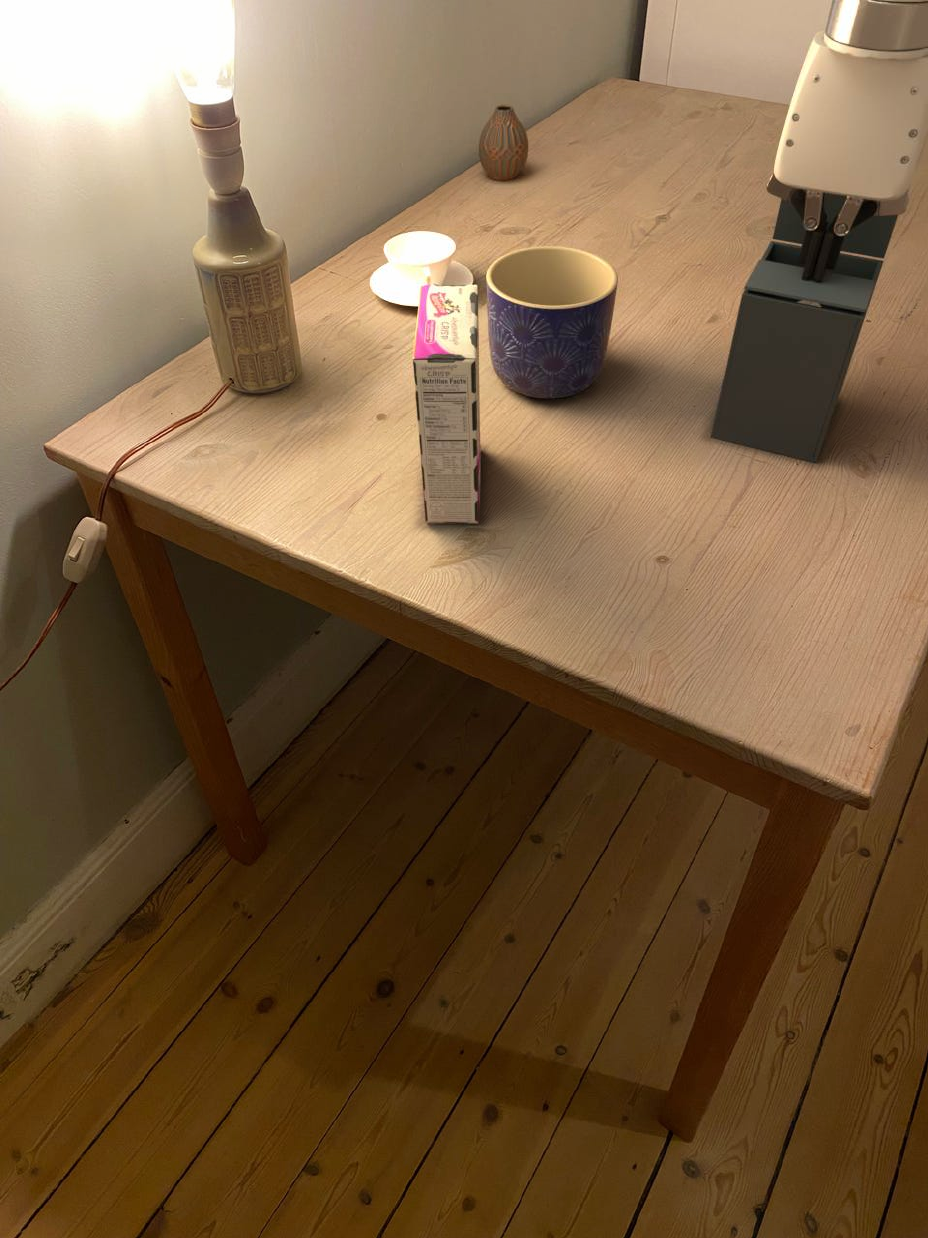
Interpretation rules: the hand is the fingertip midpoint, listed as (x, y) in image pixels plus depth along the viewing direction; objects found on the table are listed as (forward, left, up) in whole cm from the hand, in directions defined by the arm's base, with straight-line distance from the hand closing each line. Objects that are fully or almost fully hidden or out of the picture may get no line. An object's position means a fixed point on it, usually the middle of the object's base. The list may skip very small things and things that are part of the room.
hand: (814, 273), depth 76 cm
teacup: (+43, -10, -15) cm, 47 cm away
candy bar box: (+24, +21, -15) cm, 35 cm away
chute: (0, -1, -15) cm, 15 cm away
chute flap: (0, +2, 0) cm, 2 cm away
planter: (+23, +1, -15) cm, 28 cm away
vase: (+48, -45, -15) cm, 67 cm away
